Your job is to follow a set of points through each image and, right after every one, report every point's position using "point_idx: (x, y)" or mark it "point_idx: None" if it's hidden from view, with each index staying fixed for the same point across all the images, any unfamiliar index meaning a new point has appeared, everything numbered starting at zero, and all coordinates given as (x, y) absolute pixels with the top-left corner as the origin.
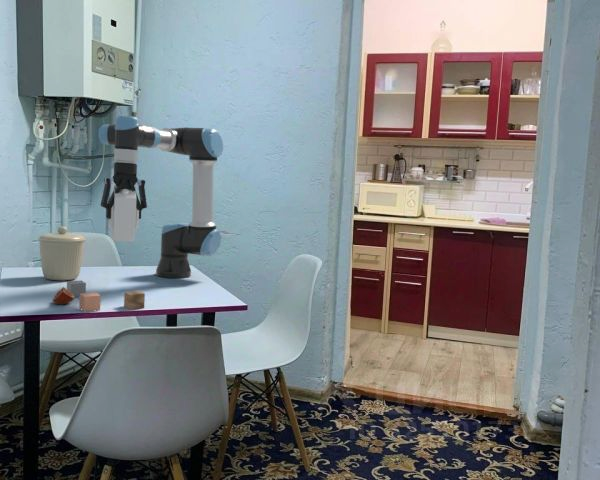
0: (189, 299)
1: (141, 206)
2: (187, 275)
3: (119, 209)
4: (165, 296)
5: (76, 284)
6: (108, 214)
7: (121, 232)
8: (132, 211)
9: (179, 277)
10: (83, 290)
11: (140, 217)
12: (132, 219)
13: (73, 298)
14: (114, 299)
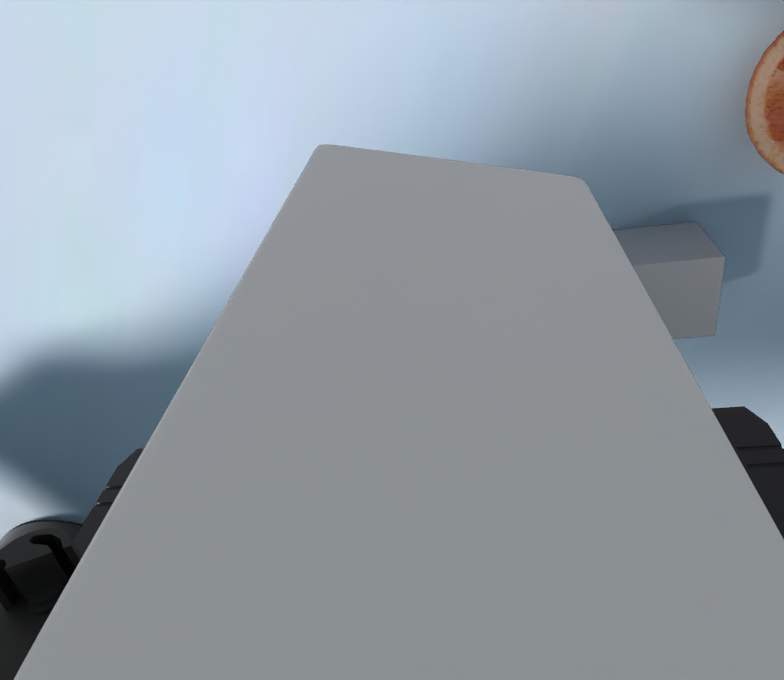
0: (11, 11)
1: (2, 631)
2: (7, 536)
3: (612, 450)
4: (159, 136)
5: (689, 257)
6: (768, 463)
7: (497, 208)
8: (277, 376)
9: (50, 522)
10: (632, 245)
11: (129, 467)
12: (306, 282)
13: (774, 41)
14: (474, 122)
